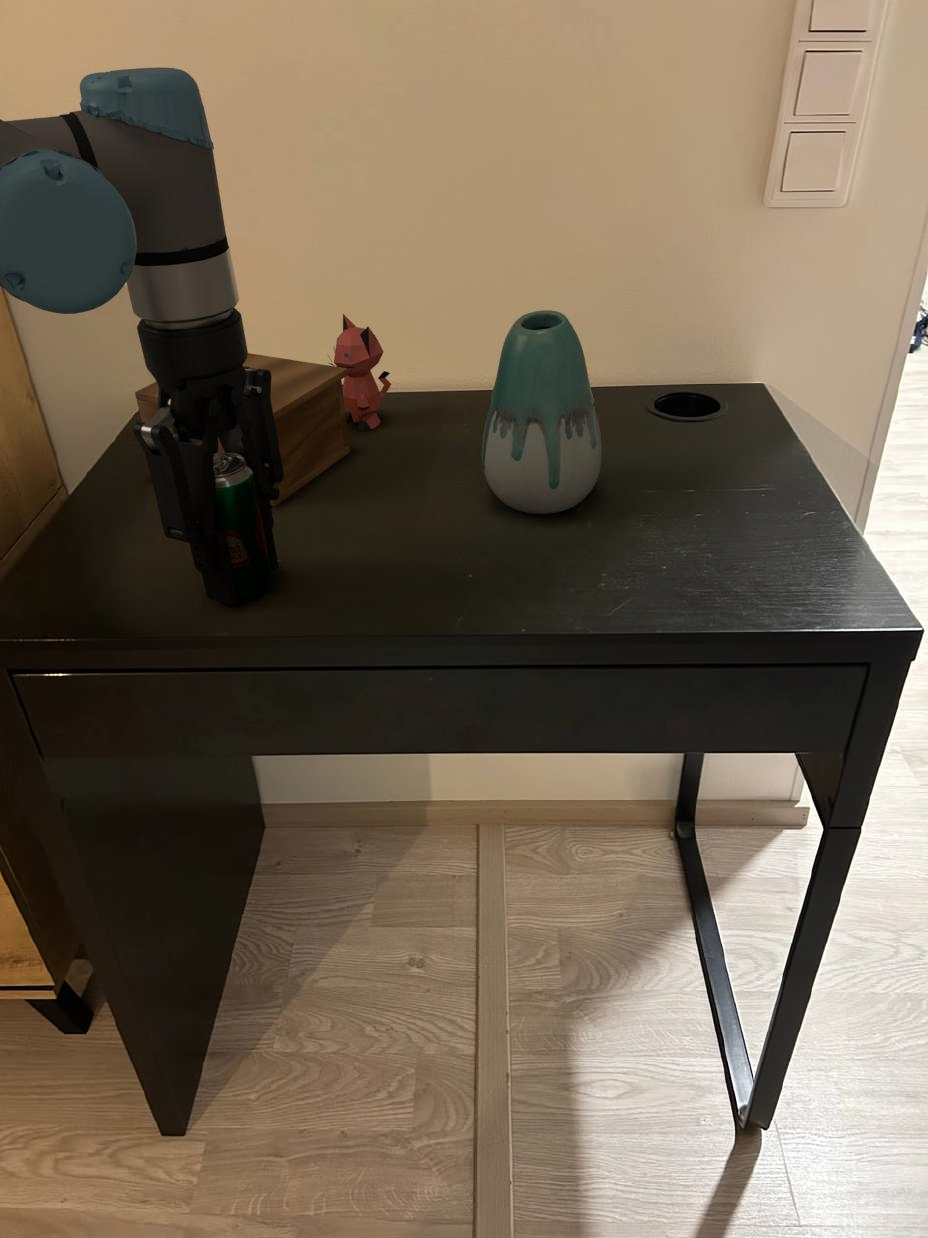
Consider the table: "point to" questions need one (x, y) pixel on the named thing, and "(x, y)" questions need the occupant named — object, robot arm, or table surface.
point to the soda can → (241, 525)
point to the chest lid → (280, 381)
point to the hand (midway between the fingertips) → (243, 581)
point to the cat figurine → (360, 374)
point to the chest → (301, 438)
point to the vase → (542, 419)
